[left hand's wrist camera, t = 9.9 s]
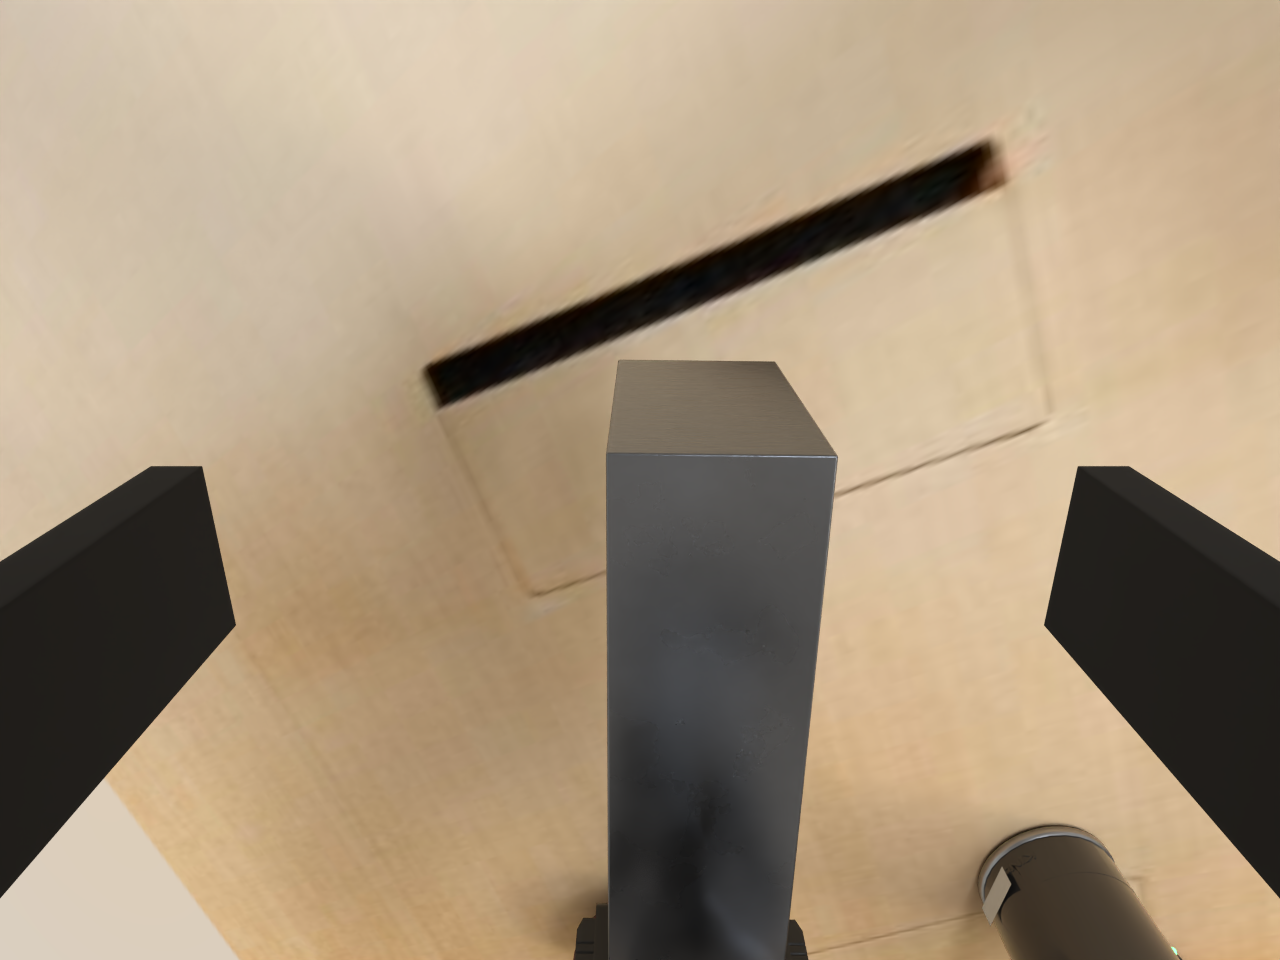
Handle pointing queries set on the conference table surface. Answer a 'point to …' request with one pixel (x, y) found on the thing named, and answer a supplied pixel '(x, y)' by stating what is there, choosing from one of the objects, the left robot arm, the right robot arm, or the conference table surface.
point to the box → (709, 653)
